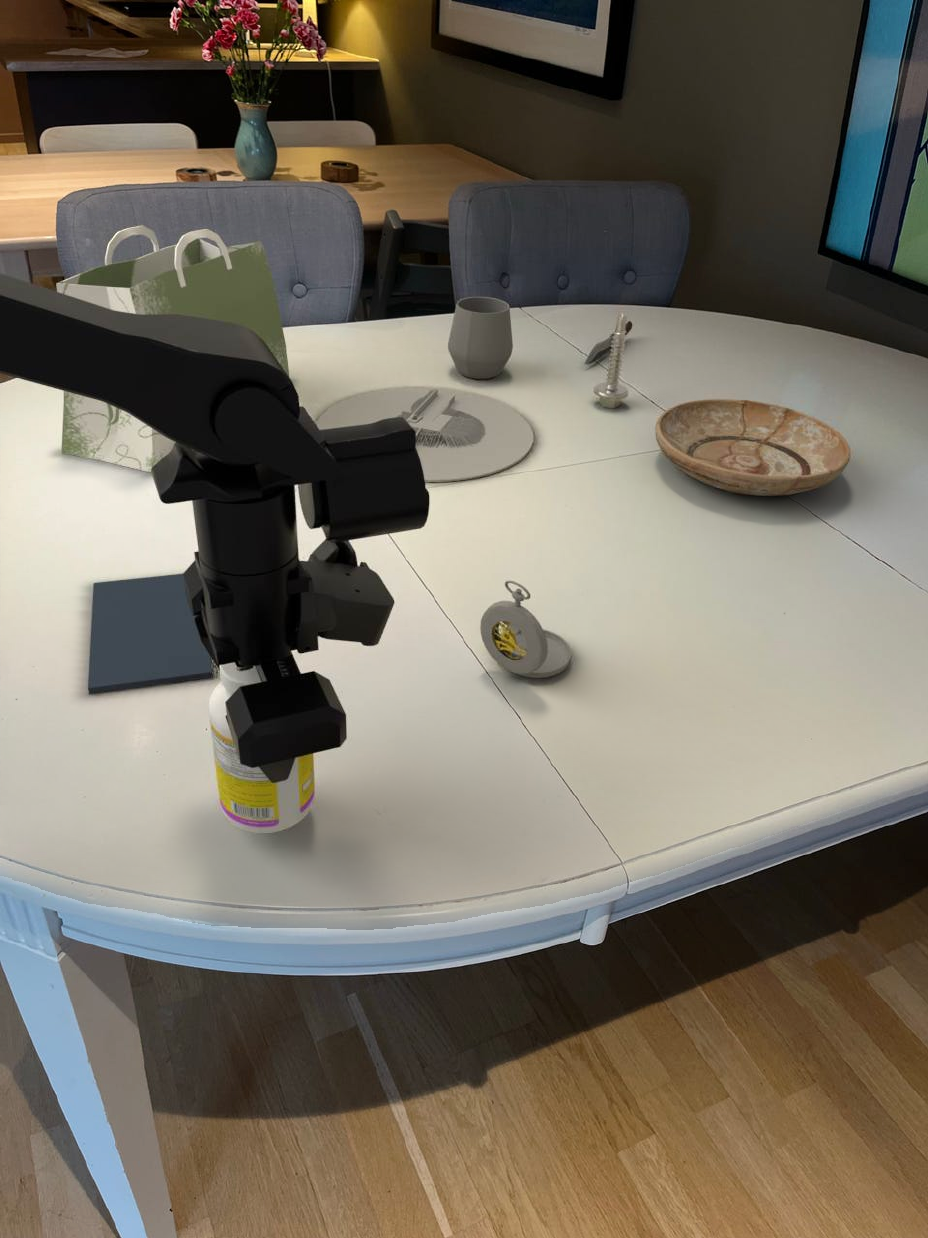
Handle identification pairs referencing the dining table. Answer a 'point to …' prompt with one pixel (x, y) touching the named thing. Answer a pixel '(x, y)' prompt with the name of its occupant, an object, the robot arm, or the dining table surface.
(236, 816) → the supplement bottle
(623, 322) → the screw
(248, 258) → the grocery bag
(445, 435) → the plate
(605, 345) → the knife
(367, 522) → the robot arm
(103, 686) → the placemat
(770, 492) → the ceramic bowl
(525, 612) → the pocket watch
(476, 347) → the cup
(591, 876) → the dining table surface
